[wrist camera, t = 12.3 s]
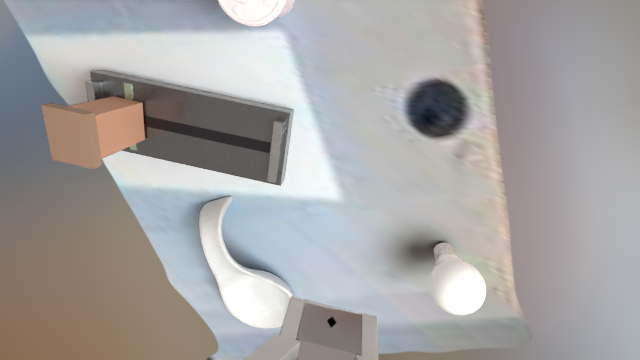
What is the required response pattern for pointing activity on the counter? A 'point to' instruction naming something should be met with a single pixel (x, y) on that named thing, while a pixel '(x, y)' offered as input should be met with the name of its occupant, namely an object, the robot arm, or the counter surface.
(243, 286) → the spoon rest
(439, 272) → the lightbulb
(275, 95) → the counter surface
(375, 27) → the counter surface
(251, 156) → the fader track
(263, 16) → the smoothie
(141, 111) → the fader knob
